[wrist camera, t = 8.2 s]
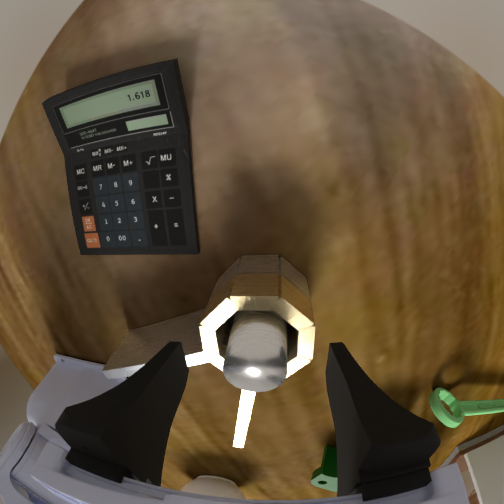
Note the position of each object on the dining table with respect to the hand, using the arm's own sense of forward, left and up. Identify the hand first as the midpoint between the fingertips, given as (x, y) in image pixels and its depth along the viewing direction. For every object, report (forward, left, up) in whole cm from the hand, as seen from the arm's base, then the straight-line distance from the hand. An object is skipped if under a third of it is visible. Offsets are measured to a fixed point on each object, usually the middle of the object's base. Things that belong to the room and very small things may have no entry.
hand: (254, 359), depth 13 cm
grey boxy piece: (+35, -35, -6) cm, 50 cm away
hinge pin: (0, 0, -6) cm, 6 cm away
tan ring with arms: (-4, -4, -6) cm, 9 cm away
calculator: (-8, +9, -7) cm, 14 cm away
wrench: (+27, -16, -7) cm, 32 cm away
